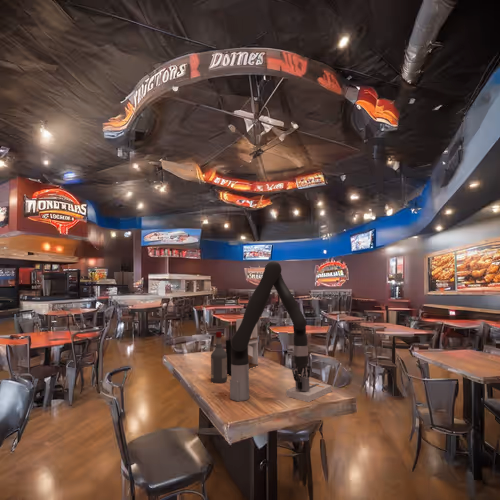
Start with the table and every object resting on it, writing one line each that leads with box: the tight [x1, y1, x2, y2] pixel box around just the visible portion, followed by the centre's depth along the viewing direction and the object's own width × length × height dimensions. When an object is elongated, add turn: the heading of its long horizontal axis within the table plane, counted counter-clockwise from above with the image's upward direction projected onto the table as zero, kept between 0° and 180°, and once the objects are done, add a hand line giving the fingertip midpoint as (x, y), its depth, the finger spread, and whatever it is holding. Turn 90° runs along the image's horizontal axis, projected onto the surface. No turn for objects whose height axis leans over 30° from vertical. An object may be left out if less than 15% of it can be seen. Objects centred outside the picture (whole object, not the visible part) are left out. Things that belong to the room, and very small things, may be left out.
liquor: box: [210, 331, 228, 384], centre depth 194 cm, size 9×9×30 cm
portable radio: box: [225, 336, 231, 376], centre depth 210 cm, size 8×6×25 cm
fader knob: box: [294, 377, 310, 392], centre depth 161 cm, size 4×6×6 cm, turn 45°
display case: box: [235, 318, 259, 369], centre depth 229 cm, size 11×11×35 cm
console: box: [285, 380, 333, 403], centre depth 164 cm, size 22×14×3 cm, turn 135°
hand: (302, 388), depth 161 cm, fingers closed on fader knob, 4 cm apart
